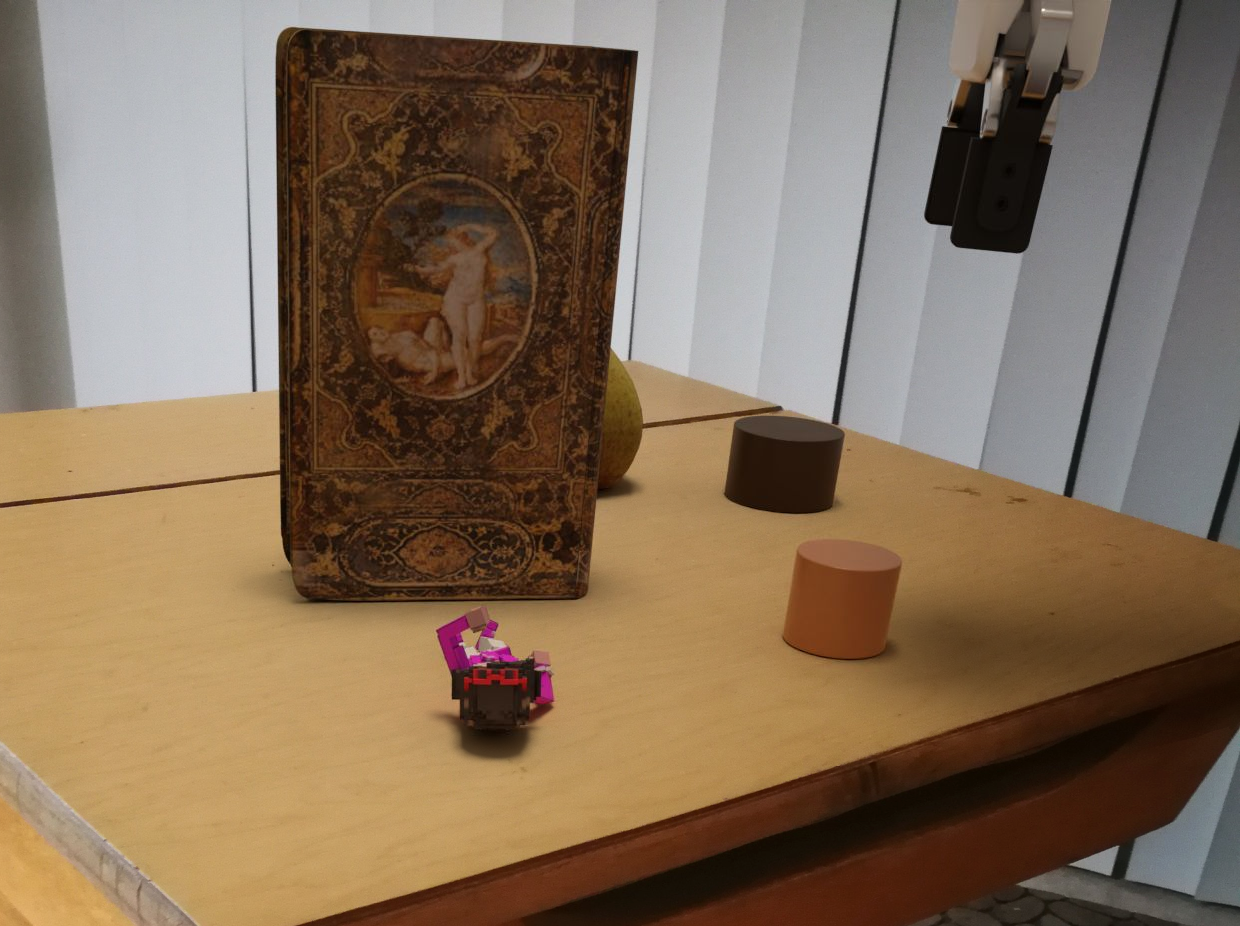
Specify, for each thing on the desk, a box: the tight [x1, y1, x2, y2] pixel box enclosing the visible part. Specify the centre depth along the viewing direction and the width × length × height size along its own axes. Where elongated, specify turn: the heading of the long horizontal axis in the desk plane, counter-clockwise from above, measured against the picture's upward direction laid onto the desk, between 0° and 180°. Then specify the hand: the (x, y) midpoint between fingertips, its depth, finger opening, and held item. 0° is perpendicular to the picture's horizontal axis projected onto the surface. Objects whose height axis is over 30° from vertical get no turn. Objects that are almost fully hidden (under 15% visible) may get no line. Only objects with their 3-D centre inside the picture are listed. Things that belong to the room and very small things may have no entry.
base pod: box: [724, 415, 846, 514], centre depth 101 cm, size 7×7×4 cm
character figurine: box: [435, 604, 555, 732], centre depth 67 cm, size 6×5×12 cm
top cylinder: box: [782, 538, 903, 660], centre depth 77 cm, size 5×5×4 cm
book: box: [274, 26, 639, 602], centre depth 76 cm, size 16×6×25 cm, turn 102°
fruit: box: [597, 348, 644, 490], centre depth 99 cm, size 9×9×12 cm
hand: (971, 236), depth 68 cm, fingers open, 9 cm apart
